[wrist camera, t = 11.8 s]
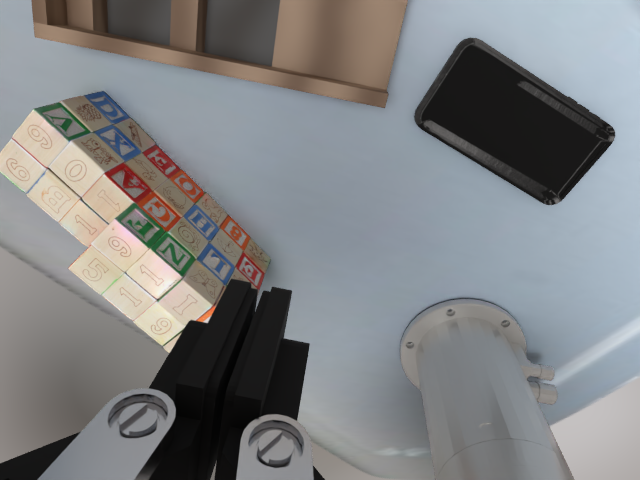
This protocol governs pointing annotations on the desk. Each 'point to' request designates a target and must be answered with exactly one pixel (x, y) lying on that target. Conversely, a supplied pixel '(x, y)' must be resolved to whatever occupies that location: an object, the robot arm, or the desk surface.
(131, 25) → the wooden shelf
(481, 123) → the phone
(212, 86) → the desk surface
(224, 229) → the stack of blocks
